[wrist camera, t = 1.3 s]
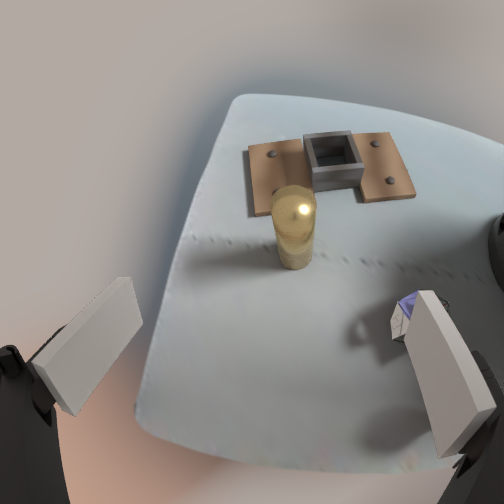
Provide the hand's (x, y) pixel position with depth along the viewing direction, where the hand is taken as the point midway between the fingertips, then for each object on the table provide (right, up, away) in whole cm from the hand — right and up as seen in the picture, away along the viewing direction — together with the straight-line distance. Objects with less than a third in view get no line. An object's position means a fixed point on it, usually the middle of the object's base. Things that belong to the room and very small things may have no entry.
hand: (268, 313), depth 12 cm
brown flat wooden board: (+11, +14, +27) cm, 32 cm away
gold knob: (+5, +2, +23) cm, 24 cm away
